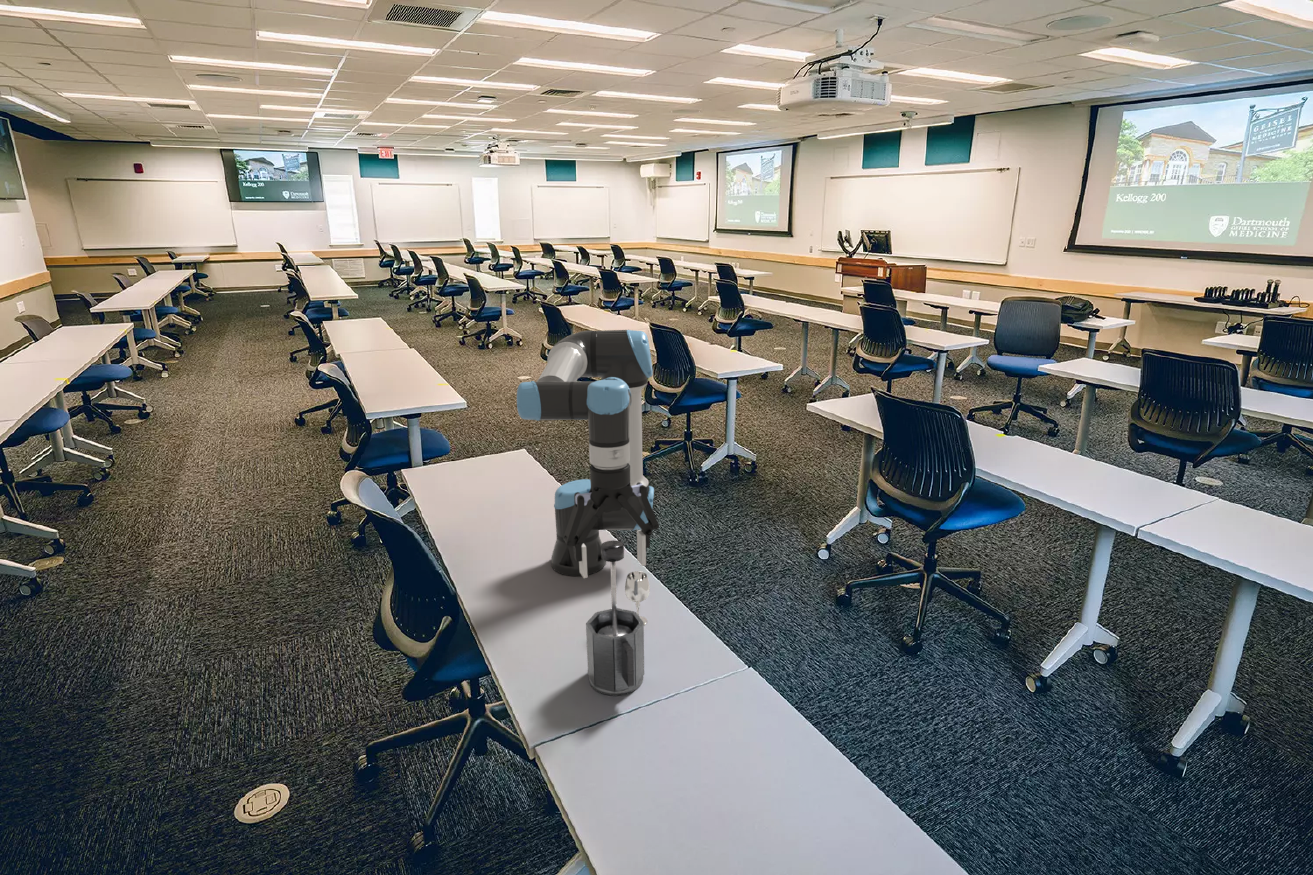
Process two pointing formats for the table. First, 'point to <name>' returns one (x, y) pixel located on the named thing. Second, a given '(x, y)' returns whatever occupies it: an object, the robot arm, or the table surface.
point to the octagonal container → (615, 653)
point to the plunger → (613, 586)
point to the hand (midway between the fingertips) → (613, 568)
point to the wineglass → (637, 589)
